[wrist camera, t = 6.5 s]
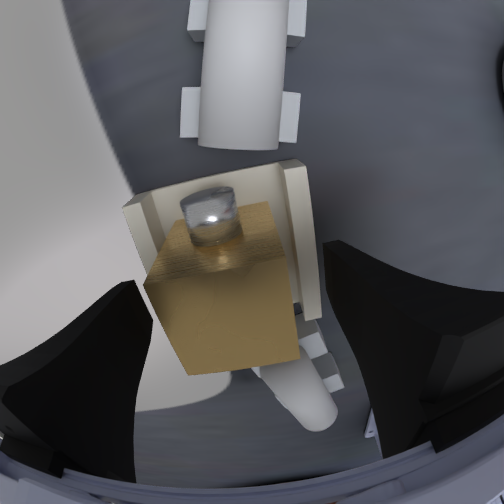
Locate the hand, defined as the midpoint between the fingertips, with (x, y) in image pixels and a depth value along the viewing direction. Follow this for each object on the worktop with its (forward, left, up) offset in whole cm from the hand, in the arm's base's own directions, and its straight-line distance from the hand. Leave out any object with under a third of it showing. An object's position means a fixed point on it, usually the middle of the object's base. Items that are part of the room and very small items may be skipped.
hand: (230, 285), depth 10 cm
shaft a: (-8, -2, -3) cm, 9 cm away
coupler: (0, 0, -3) cm, 3 cm away
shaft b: (+8, -2, -3) cm, 9 cm away
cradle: (0, 0, -3) cm, 3 cm away
